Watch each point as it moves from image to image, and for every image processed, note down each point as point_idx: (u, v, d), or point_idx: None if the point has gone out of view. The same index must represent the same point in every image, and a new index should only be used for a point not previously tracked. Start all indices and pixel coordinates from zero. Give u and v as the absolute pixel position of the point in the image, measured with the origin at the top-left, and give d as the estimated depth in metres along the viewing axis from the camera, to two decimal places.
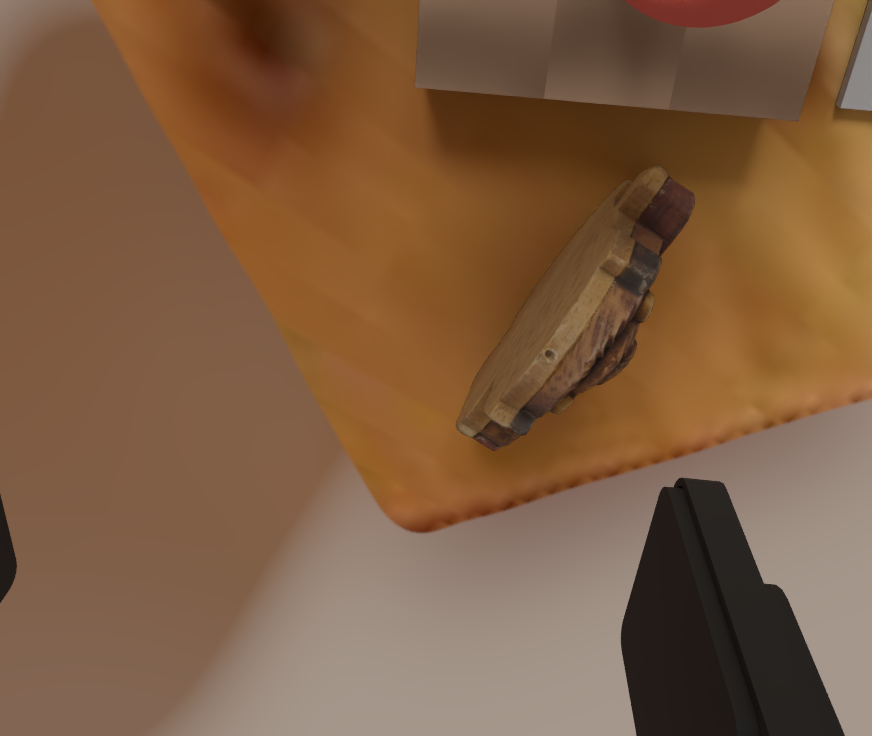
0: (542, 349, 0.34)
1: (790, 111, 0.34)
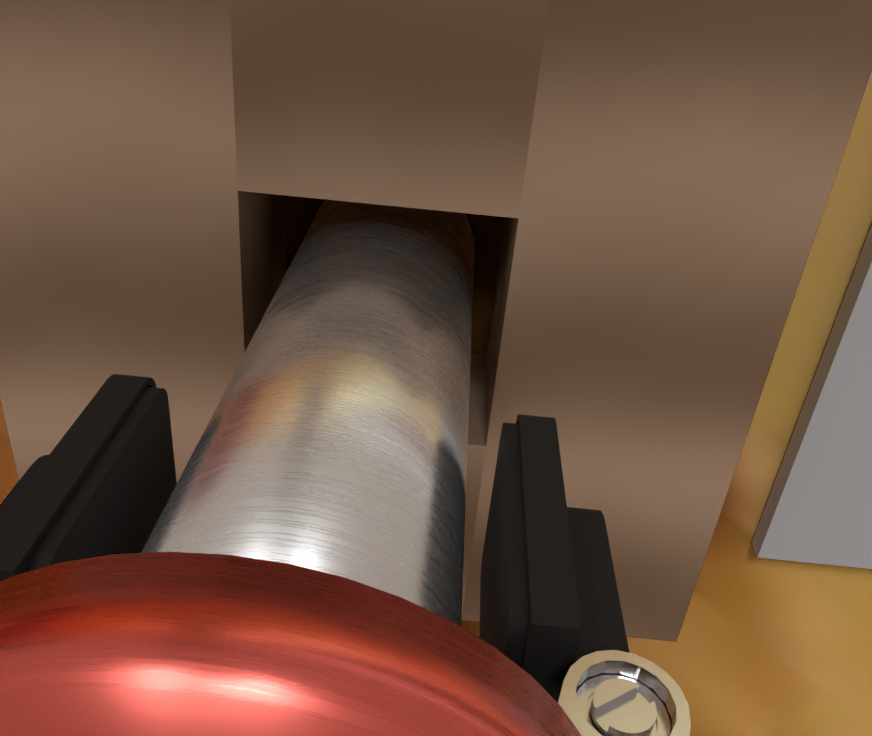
0: None
1: (662, 630, 0.20)
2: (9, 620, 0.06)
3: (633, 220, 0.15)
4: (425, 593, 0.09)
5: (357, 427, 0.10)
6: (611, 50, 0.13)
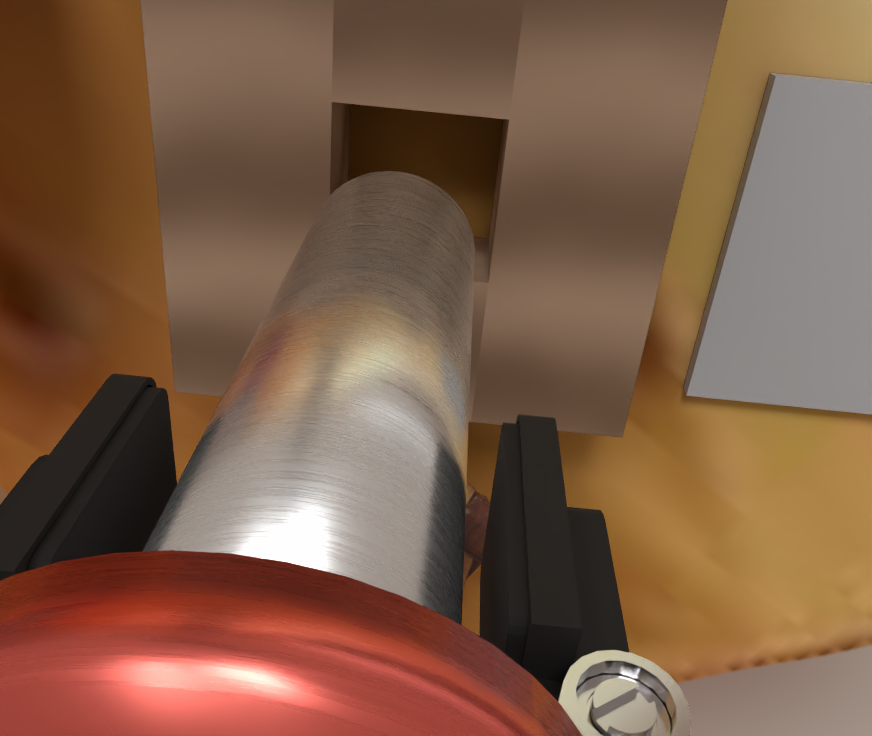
0: None
1: (612, 427, 0.29)
2: (12, 618, 0.06)
3: (581, 120, 0.24)
4: (425, 593, 0.09)
5: (357, 426, 0.10)
6: (564, 10, 0.22)
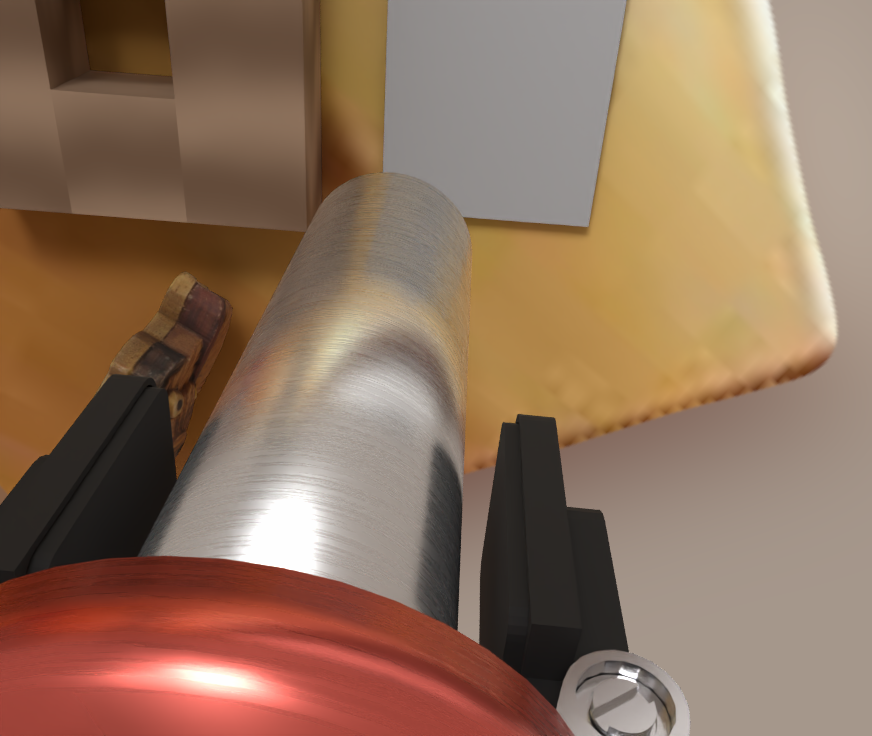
0: None
1: (297, 223, 0.36)
2: (6, 624, 0.06)
3: None
4: (420, 595, 0.09)
5: (353, 430, 0.10)
6: None
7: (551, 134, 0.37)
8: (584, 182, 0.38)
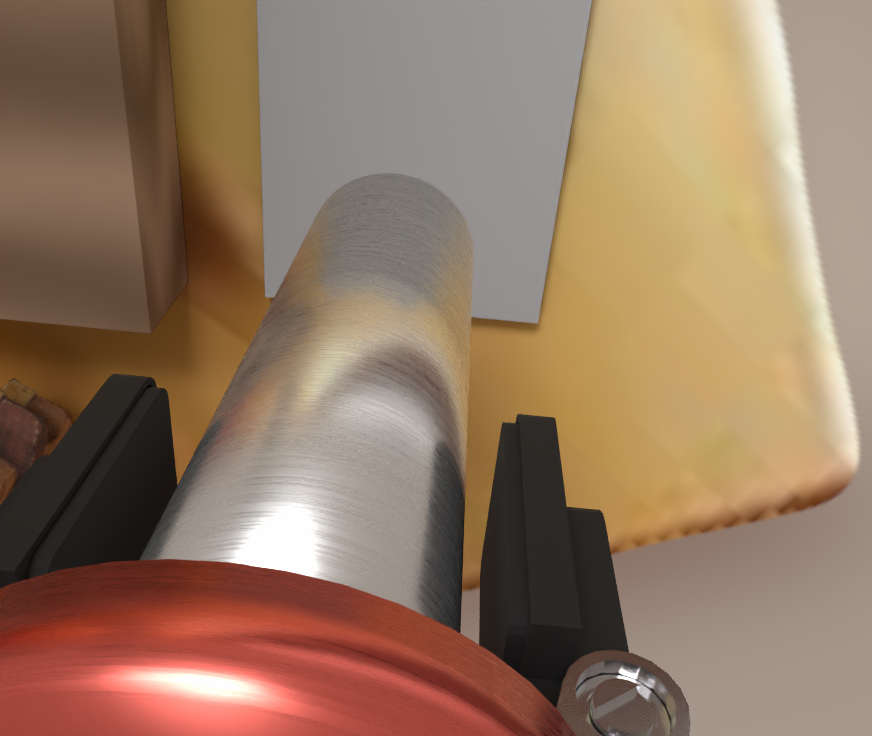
0: None
1: (136, 322, 0.27)
2: (10, 628, 0.06)
3: None
4: (424, 599, 0.09)
5: (356, 431, 0.10)
6: None
7: (486, 206, 0.28)
8: (531, 267, 0.29)
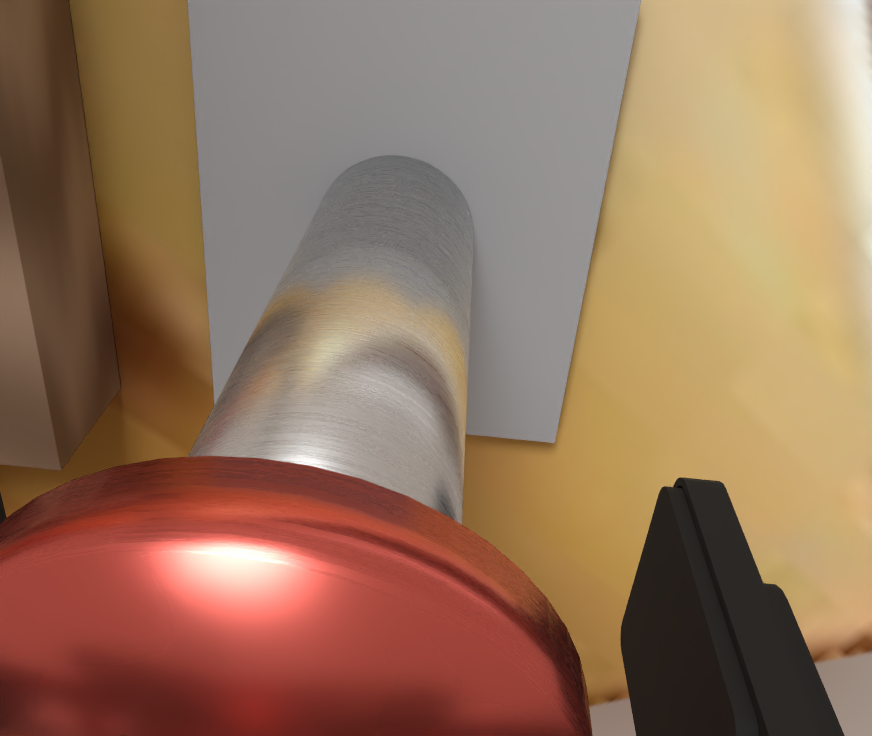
0: None
1: (42, 457, 0.21)
2: (75, 509, 0.07)
3: None
4: None
5: (366, 376, 0.11)
6: None
7: (491, 305, 0.22)
8: (547, 378, 0.23)
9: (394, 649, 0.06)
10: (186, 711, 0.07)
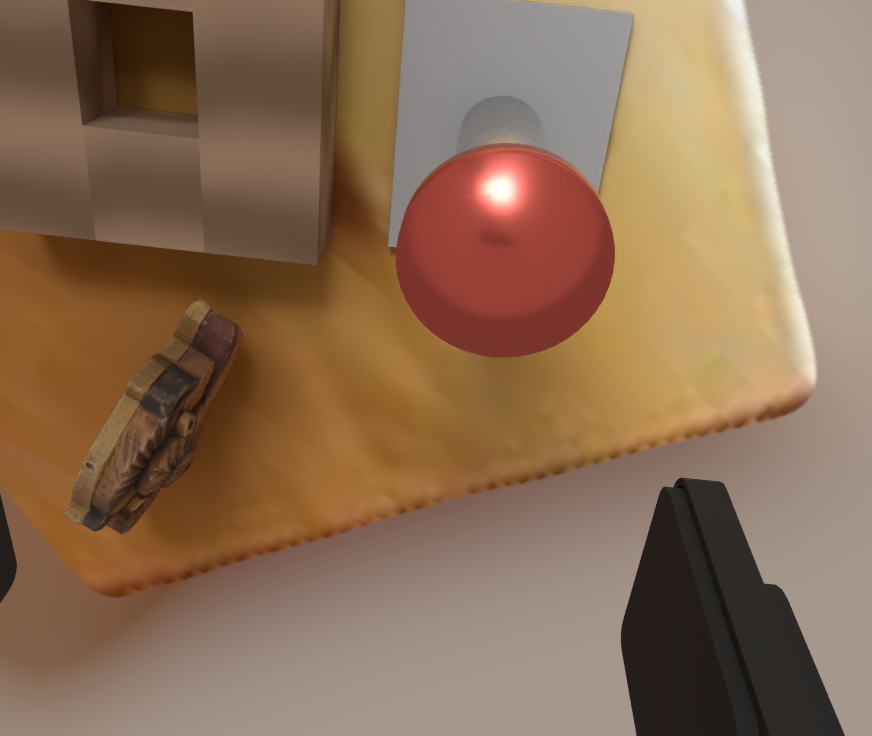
0: (84, 461, 0.38)
1: (308, 257, 0.39)
2: (470, 153, 0.25)
3: (242, 13, 0.33)
4: None
5: None
6: None
7: None
8: None
9: (560, 186, 0.24)
10: (497, 213, 0.25)
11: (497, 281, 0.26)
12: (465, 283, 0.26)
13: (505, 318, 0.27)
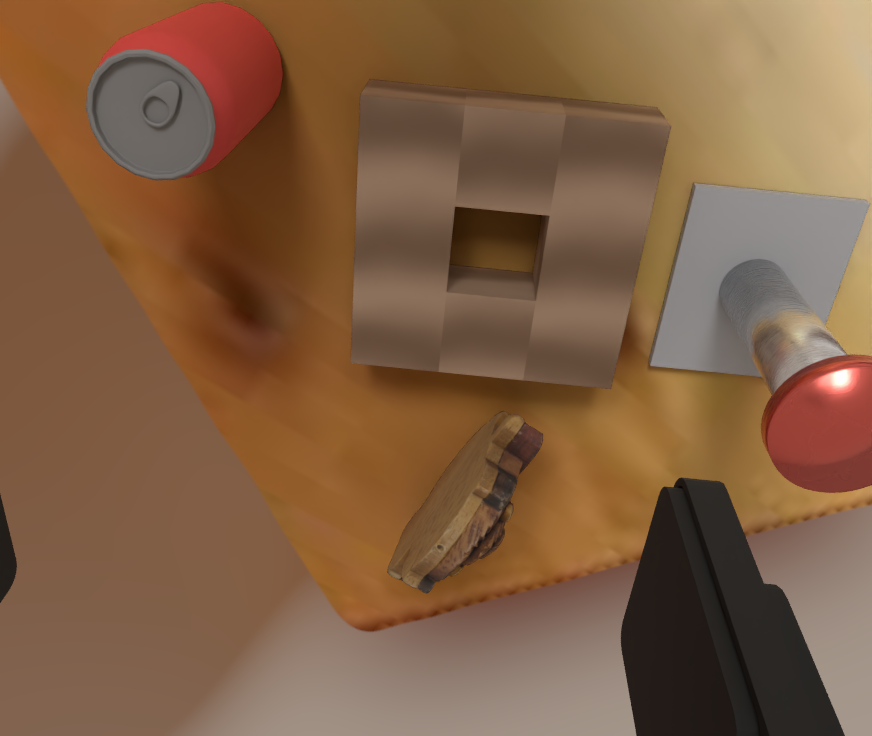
0: (435, 543, 0.50)
1: (604, 383, 0.50)
2: (832, 364, 0.36)
3: (588, 216, 0.45)
4: None
5: (831, 342, 0.40)
6: (579, 163, 0.43)
7: None
8: None
9: None
10: (849, 404, 0.36)
11: (839, 445, 0.37)
12: (816, 446, 0.37)
13: (839, 468, 0.38)
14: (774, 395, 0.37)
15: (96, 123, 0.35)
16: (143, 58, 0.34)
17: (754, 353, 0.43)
